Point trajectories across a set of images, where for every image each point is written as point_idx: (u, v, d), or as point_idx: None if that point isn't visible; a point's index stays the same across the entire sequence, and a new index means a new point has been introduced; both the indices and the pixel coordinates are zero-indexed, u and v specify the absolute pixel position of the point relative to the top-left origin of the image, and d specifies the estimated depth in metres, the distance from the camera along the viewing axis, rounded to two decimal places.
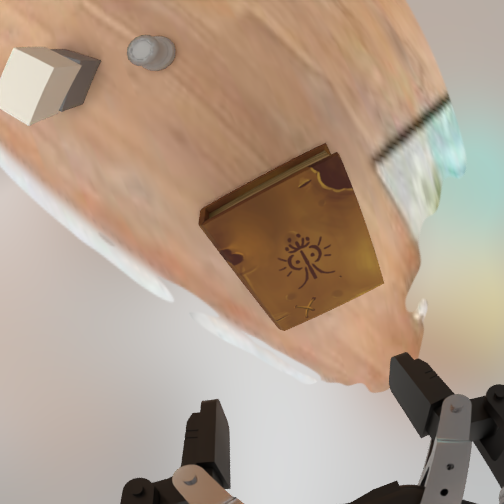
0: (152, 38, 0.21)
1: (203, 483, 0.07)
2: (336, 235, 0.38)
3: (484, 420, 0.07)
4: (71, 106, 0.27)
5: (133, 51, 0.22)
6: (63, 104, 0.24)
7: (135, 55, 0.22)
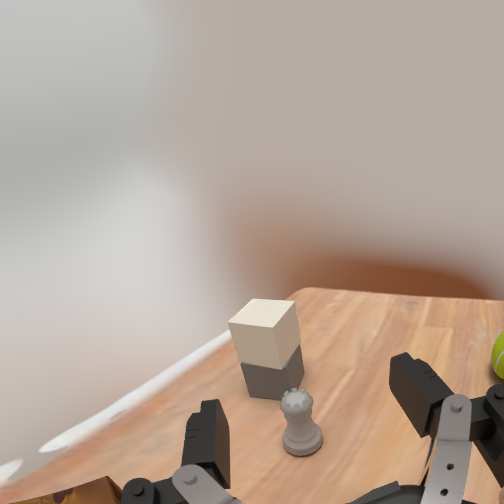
0: (309, 405, 0.25)
1: (203, 483, 0.07)
2: None
3: (484, 420, 0.07)
4: (246, 378, 0.36)
5: (293, 393, 0.27)
6: (246, 364, 0.36)
7: (289, 396, 0.27)
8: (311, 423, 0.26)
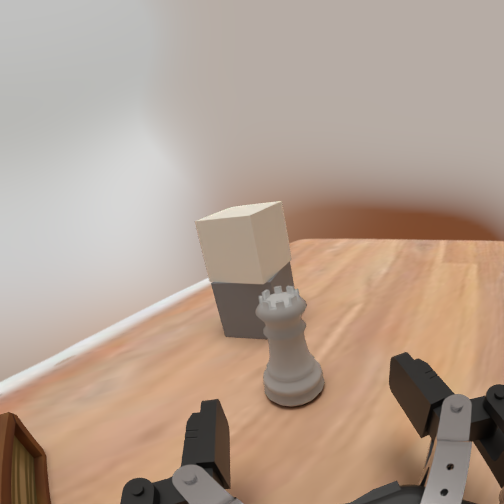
0: (301, 307, 0.18)
1: (203, 483, 0.07)
2: None
3: (484, 420, 0.07)
4: (219, 306, 0.29)
5: (276, 294, 0.19)
6: (219, 283, 0.28)
7: (270, 297, 0.19)
8: (305, 348, 0.19)
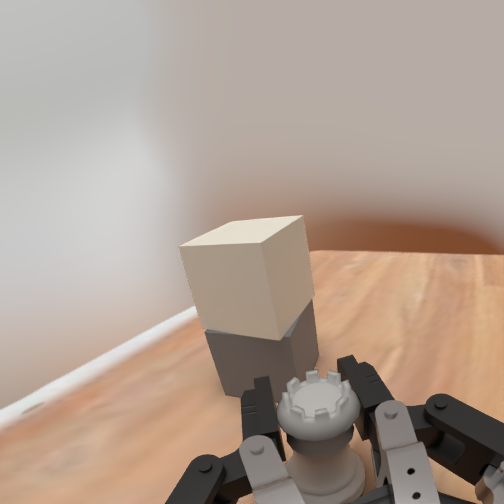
0: (354, 412, 0.09)
1: (272, 451, 0.08)
2: None
3: (422, 429, 0.08)
4: (216, 360, 0.20)
5: (310, 384, 0.11)
6: (215, 333, 0.20)
7: (300, 391, 0.10)
8: (349, 453, 0.10)
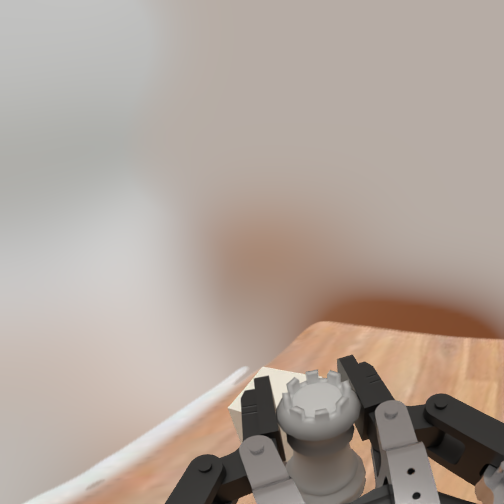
0: (354, 413, 0.09)
1: (272, 451, 0.08)
2: None
3: (422, 429, 0.08)
4: None
5: (310, 385, 0.11)
6: None
7: (300, 391, 0.10)
8: (349, 453, 0.10)
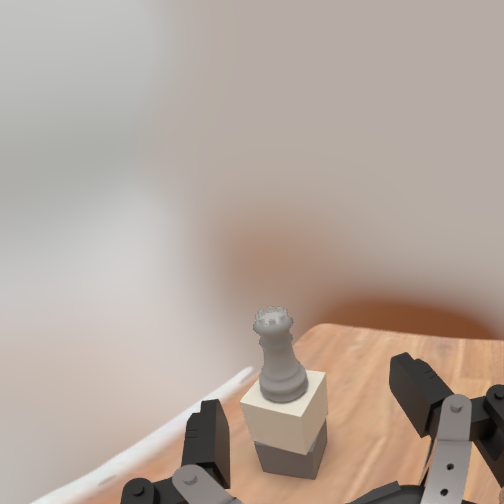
0: (288, 324, 0.23)
1: (203, 483, 0.07)
2: None
3: (484, 420, 0.07)
4: (260, 456, 0.26)
5: (269, 313, 0.24)
6: (262, 444, 0.25)
7: (264, 315, 0.24)
8: (292, 355, 0.24)
